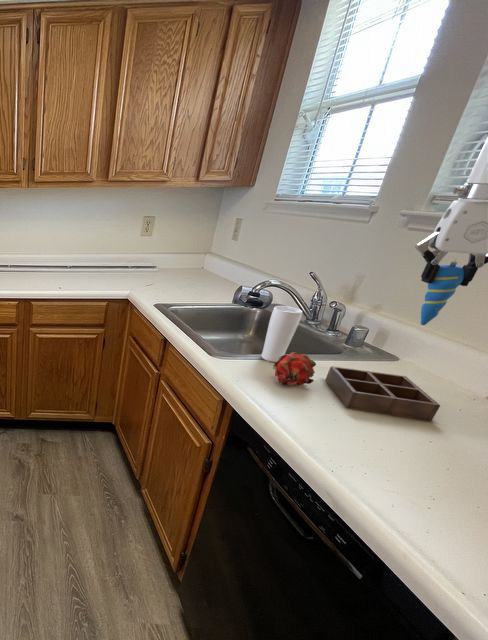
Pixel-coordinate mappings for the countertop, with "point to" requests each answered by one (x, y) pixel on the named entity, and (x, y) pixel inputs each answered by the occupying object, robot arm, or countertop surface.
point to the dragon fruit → (294, 369)
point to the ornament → (441, 290)
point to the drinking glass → (280, 332)
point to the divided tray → (381, 393)
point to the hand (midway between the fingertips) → (443, 282)
